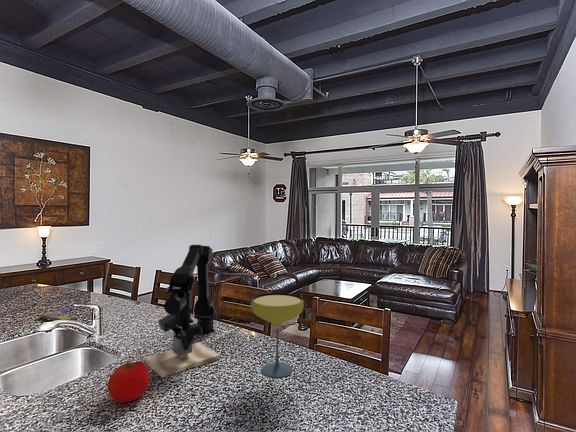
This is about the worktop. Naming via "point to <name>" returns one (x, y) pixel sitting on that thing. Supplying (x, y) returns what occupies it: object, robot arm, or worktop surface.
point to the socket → (180, 345)
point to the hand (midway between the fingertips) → (182, 348)
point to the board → (181, 360)
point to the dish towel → (54, 314)
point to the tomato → (128, 382)
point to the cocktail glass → (277, 322)
